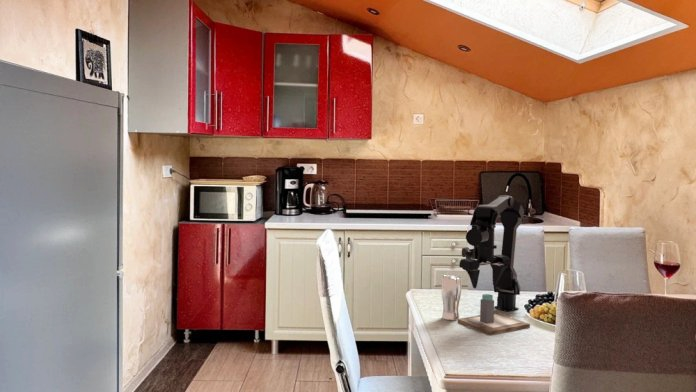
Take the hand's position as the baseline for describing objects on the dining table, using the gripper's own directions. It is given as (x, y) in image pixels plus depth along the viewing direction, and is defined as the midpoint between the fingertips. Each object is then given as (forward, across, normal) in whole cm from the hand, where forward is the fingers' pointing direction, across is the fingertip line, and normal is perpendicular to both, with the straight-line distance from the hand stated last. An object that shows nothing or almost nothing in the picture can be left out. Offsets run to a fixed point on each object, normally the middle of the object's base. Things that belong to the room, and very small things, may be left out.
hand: (484, 286), depth 200 cm
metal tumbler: (+13, +7, -9) cm, 17 cm away
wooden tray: (+13, -1, +4) cm, 13 cm away
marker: (+11, +2, +4) cm, 12 cm away
